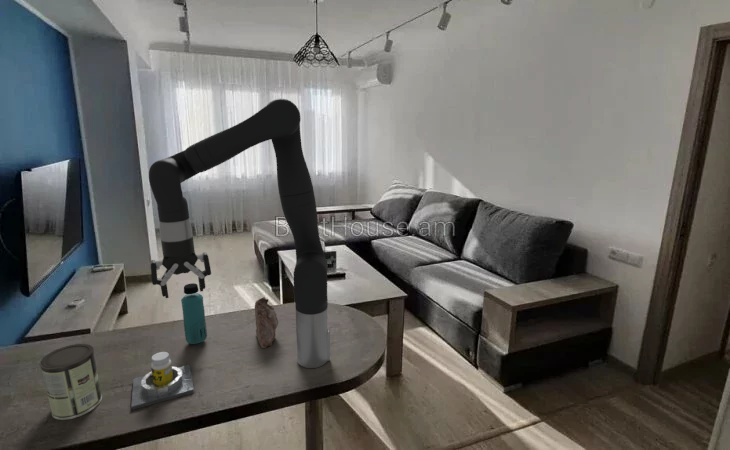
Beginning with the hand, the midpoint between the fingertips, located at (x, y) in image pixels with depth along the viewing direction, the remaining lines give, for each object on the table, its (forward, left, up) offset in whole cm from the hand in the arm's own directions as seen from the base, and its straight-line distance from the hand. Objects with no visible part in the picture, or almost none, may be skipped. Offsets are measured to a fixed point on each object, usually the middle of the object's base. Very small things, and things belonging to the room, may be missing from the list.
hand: (184, 293), depth 104 cm
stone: (-23, -6, -24) cm, 34 cm away
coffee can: (+27, +3, -24) cm, 36 cm away
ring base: (+8, +5, -24) cm, 25 cm away
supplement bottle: (+7, +4, -23) cm, 24 cm away
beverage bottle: (-2, -14, -24) cm, 28 cm away
